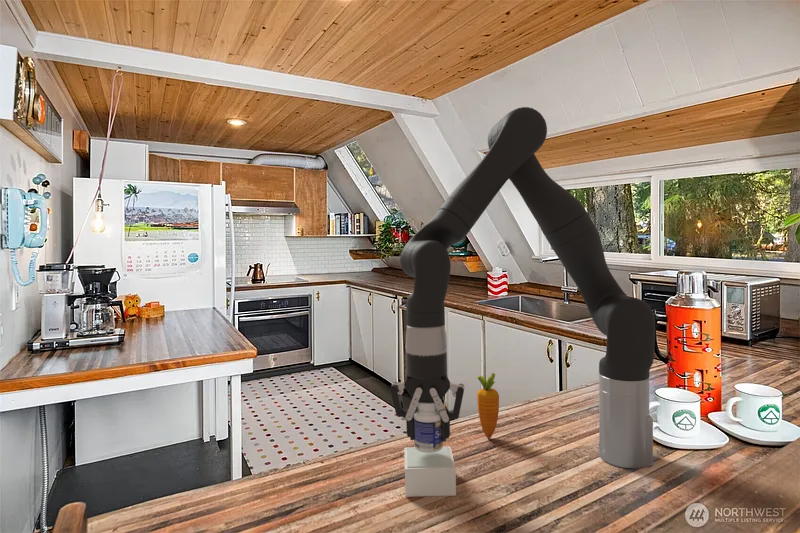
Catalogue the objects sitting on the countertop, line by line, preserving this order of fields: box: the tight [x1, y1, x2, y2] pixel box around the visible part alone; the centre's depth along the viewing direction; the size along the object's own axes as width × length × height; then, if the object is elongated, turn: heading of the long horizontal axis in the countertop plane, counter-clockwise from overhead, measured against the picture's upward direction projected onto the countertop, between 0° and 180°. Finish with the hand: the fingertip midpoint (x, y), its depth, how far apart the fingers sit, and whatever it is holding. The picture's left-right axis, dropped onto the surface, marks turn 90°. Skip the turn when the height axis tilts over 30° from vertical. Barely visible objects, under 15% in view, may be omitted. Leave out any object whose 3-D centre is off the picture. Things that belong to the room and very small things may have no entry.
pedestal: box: [403, 446, 457, 498], centre depth 90 cm, size 9×9×5 cm
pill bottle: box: [413, 402, 444, 453], centre depth 90 cm, size 5×5×9 cm
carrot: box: [476, 372, 500, 440], centre depth 110 cm, size 5×5×15 cm
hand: (428, 438), depth 90 cm, fingers closed on pill bottle, 5 cm apart
